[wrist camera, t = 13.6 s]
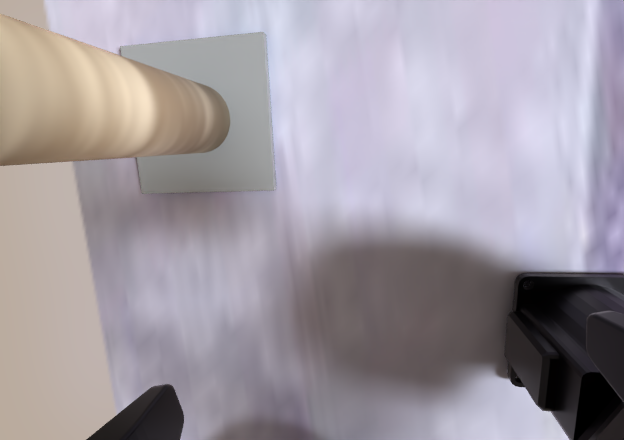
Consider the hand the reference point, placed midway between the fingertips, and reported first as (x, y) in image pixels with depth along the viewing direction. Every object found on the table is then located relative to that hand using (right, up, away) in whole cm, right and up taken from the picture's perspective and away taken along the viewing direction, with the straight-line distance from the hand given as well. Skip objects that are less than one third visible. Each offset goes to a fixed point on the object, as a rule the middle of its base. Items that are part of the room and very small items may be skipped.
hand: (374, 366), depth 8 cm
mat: (-8, +9, +12) cm, 17 cm away
